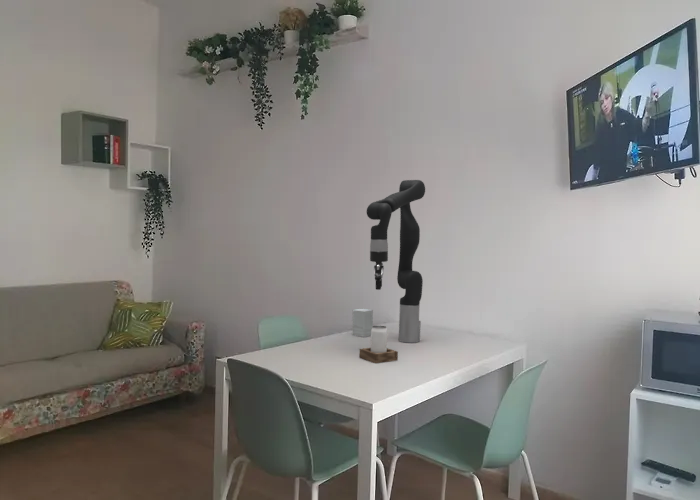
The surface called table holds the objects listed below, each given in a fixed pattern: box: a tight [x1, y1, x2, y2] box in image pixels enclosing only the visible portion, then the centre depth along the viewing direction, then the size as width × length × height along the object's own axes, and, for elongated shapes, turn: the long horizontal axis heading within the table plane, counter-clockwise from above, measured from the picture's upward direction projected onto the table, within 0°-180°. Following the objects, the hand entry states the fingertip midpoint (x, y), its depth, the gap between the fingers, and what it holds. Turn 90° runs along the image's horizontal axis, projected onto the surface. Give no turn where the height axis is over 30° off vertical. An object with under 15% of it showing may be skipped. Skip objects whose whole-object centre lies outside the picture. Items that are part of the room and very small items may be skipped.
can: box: [370, 325, 388, 353], centre depth 225 cm, size 6×6×12 cm
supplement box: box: [351, 308, 374, 338], centre depth 273 cm, size 7×7×13 cm
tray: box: [358, 347, 399, 364], centre depth 225 cm, size 11×11×4 cm
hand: (378, 288), depth 238 cm, fingers open, 8 cm apart
